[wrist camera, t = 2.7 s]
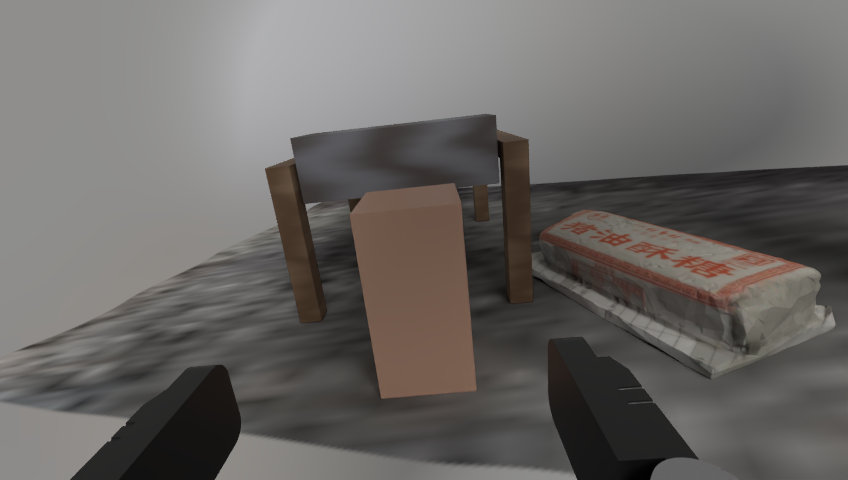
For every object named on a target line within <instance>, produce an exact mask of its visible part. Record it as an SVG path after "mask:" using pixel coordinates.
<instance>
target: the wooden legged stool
mask: <svg viewBox="0 0 848 480" xmlns="http://www.w3.org/2000/svg"><path fill="white" fill-rule="evenodd" d="M497 147H498V157H499V158H500V168H501V188H502V208H503V228H504V248H505V268H506V288H507V296H508V298H509V300H510V303H511V304H513V303H524V302H533V284H532V248H531V213H530V181H529V180H530V179H529V144H528V139H525V138H522V137H519V136H515V135H512V134H509V133H506V132H503V131H499V130H497ZM265 171H266V175H267V180H268V184H269V188H270V193H271V197H272V201H273V205H274V209H275V214H276V219H277V223H278V227H279V231H280V236H281V240H282V244H283V249H284V253H285V257H286V262H287V266H288V270H289V275H290V279H291V283H292V288H293V292H294V296H295V301H296V305H297V309H298V314H299V318H300V322H301V323H306V322H317V321H322V320H323V318H324V316H325V314H326V312H327V309H326V304H325V299H324V294H323V289H322V284H321V279H320V275H319V270H318V265H317V260H316V255H315V250H314V245H313V241H312V236H311V231H310V226H309V221H308V216H307V211H306V207H305V204H304V202H303V197H302V192H301V188H300V183H299V178H298V173H297V168H296V163H295V159H294V158H293V159H290V160H287V161H285V162H282V163H279V164H276V165H274V166H271V167H268V168H266V169H265ZM473 196H474V210H475V219H476V221H486V220H489V208H488V192H487V185H478V186H473ZM361 199H362V198H355V199H348V201H349V207H350V212H352V211H353V209H354V208H355V207H356V205H357V204H358V203H359V201H360V200H361Z"/></svg>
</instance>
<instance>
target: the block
mask: <svg viewBox="0 0 848 480" xmlns="http://www.w3.org/2000/svg"><path fill="white" fill-rule="evenodd" d="M350 220H351V226H352V232H353V238H354V244H355V249H356V255H357V261H358V267H359V273H360V278H361V284H362V290H363V296H364V302H365V307H366V313H367V319H368V325H369V331H370V336H371V342H372V348H373V354H374V360H375V366H376V371H377V377H378V383H379V389H380V395H381V399H384V398H396V397H408V396H420V395H432V394H444V393H457V392H469V391H477V389H476V377H475V365H474V353H473V341H472V329H471V317H470V305H469V292H468V280H467V268H466V256H465V244H464V232H463V220H462V207H461V201H460V198H459V195H458V192H457V189H456V186H455V183H450V184H441V185H431V186H422V187H412V188H403V189H394V190H384V191H375V192H366V193H365V195H364V196H363V197H362V199H361V200H360V201H359V203H358V204H357V205H356V207H355V208H354V209H353V211H352V212H351V213H350Z"/></svg>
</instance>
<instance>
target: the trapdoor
mask: <svg viewBox="0 0 848 480" xmlns="http://www.w3.org/2000/svg"><path fill="white" fill-rule="evenodd" d="M291 144H292V149H293V154H294V159H295V163H296V168H297V173H298V178H299V183H300V188H301V192H302V197H303V202H304V204H308V203H318V202H327V201H336V200H346V199H355V198H362V197H363V196H364V195H365V193H366V192H375V191H384V190H394V189H403V188H412V187H422V186H431V185H441V184H450V183H455V186H456V188H459V187H469V186H478V185H488V184H497V183H499V168H498V147H497V128H496V115H489V114H482V115H473V116H465V117H455V118H447V119H438V120H430V121H420V122H412V123H403V124H394V125H385V126H376V127H368V128H359V129H350V130H342V131H333V132H324V133H315V134H309V135H305V136H299V137H295V138H291Z"/></svg>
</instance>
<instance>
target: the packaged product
mask: <svg viewBox="0 0 848 480" xmlns="http://www.w3.org/2000/svg"><path fill="white" fill-rule="evenodd" d="M539 246H540V248H541V251H539V252H535V253H532V275H533V276H535V277H537V278H540V279H542V280H543V281H544V282H545V283H547V284H548V285H549V286H551V287H553V288H555V289H556V290H558V291H559V292H561V293H563V294H564V295H566V296H568V297H569V298H571V299H573V300H574V301H576V302H578V303H579V304H581V305H583V306H584V307H586V308H587V309H589V310H590V311H592V312H593V313H595V314H596V315H598V316H600V317H602V318H604V319H605V320H607V321H609V322H611V323H613V324H615V325H617V326H619V327H621V328H623V329H625V330H627V331H629V332H630V333H632V334H633V335H635V336H637V337H639V338H640V339H642V340H644V341H646V342H648V343H650V344H652V345H654V346H656V347H658V348H659V349H661V350H663V351H664V352H666V353H667V354H669V355H671V356H672V357H674V358H675V359H677V360H679V361H680V362H682V363H683V364H685V365H686V366H688V367H690V368H692V369H694V370H696V371H698V372H699V373H701V374H703V375H705V376H707V377H708V378H710V379H713V378H716V377H718V376H721V375H724V374H726V373H729V372H731V371H734V370H736V369H739V368H741V367H744V366H746V365H749V364H751V363H754V362H756V361H759V360H761V359H763V358H766V357H768V356H771V355H773V354H776V353H778V352H780V351H782V350H784V349H786V348H788V347H791V346H794V345H797V344H799V343H802V342H804V341H806V340H809V339H811V338H813V337H816V336H818V335H820V334H823V333H825V332H827V331H830V330H832V329H833V328H834V327H835V321H834V317H833V314H832V310H831V306H821V305H816V298H815V297H816V295H817V293H818V291H819V289H820V287H821V285H820V282H819V281H820V279H821V273H820V272H818V271H817V270H816V269H814V268H811V267H807V266H804V265H801V264H798V263H795V262H790V261H786V260H784V259H783V258H777V257H774V256H770V255H766V254H763V253H759V252H753V251H750V250H746V249H743V248H740V247H737V246H733V245H729V244H725V243H722V242H719V241H715V240H711V239H708V238H704V237H699V236H695V235H691V234H687V233H683V232H680V231H677V230H672V229H669V228H665V227H661V226H657V225H653V224H650V223H646V222H641V221H638V220H635V219H629V218H627V217H624V216H619V215H615V214H612V213H607V212H602V211H596V210H595V211H593V210H582V211H578V212H575V213H573V214H572V215H571V216H569V217H567V218H565V219H563V220H562V221H560V222H558V223H556V224H553V225H551V226H549V227H548V228H547V229H545V230H544V231H542V232H541V233H540V236H539Z"/></svg>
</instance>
